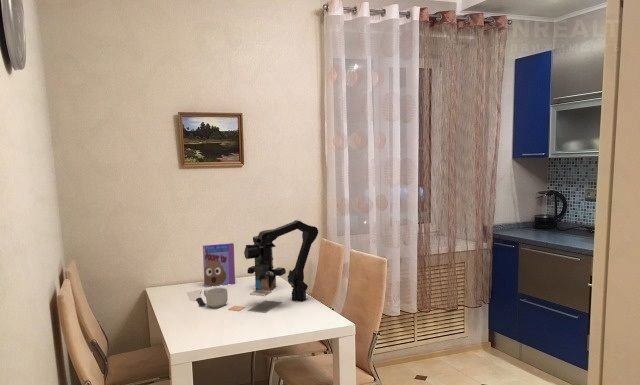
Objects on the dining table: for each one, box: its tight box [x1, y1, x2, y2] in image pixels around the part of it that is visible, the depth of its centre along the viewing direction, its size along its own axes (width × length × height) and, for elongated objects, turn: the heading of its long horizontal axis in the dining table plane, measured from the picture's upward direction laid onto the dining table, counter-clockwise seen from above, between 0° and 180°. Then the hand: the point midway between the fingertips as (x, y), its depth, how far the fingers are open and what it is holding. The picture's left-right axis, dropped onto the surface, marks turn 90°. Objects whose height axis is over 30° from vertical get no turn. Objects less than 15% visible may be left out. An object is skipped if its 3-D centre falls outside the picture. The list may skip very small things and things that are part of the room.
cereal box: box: [202, 243, 236, 288], centre depth 264 cm, size 17×5×24 cm, turn 111°
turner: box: [249, 276, 277, 297], centre depth 219 cm, size 16×8×6 cm, turn 158°
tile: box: [227, 305, 246, 312], centre depth 216 cm, size 6×2×6 cm
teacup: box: [203, 287, 229, 309], centre depth 224 cm, size 14×11×8 cm
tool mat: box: [246, 299, 283, 314], centre depth 219 cm, size 10×18×1 cm, turn 157°
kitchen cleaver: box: [186, 289, 206, 308], centre depth 236 cm, size 31×2×10 cm
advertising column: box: [252, 235, 274, 291], centre depth 251 cm, size 11×11×30 cm
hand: (267, 287), depth 220 cm, fingers closed on turner, 3 cm apart
